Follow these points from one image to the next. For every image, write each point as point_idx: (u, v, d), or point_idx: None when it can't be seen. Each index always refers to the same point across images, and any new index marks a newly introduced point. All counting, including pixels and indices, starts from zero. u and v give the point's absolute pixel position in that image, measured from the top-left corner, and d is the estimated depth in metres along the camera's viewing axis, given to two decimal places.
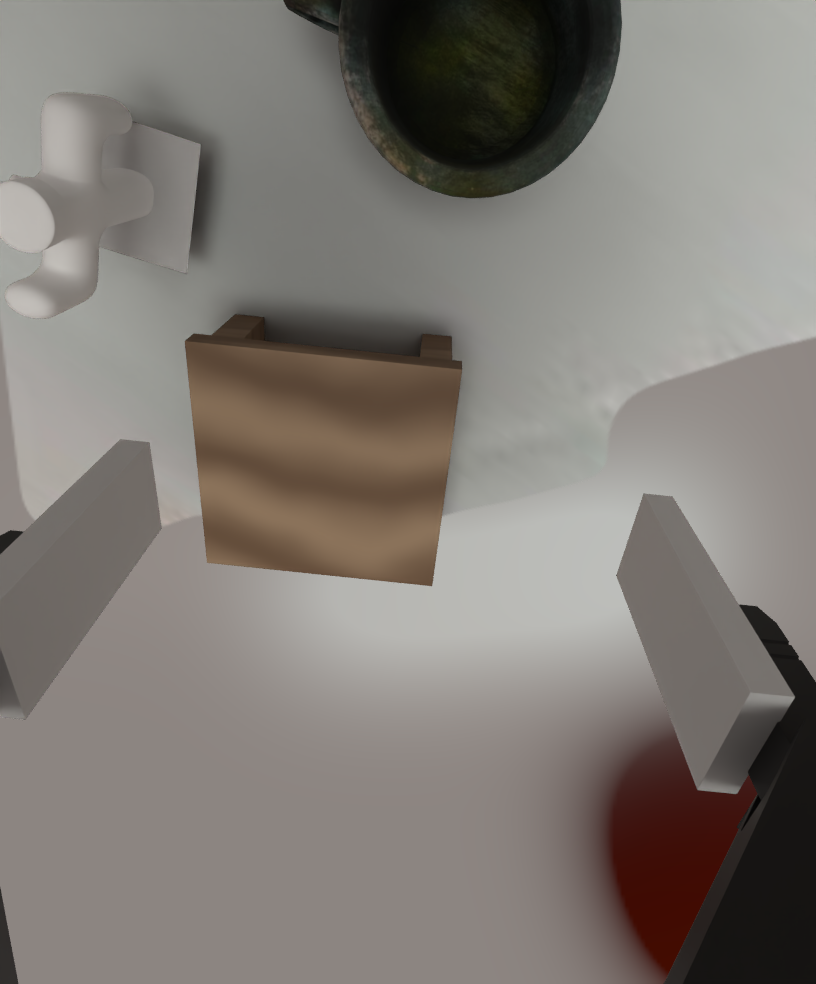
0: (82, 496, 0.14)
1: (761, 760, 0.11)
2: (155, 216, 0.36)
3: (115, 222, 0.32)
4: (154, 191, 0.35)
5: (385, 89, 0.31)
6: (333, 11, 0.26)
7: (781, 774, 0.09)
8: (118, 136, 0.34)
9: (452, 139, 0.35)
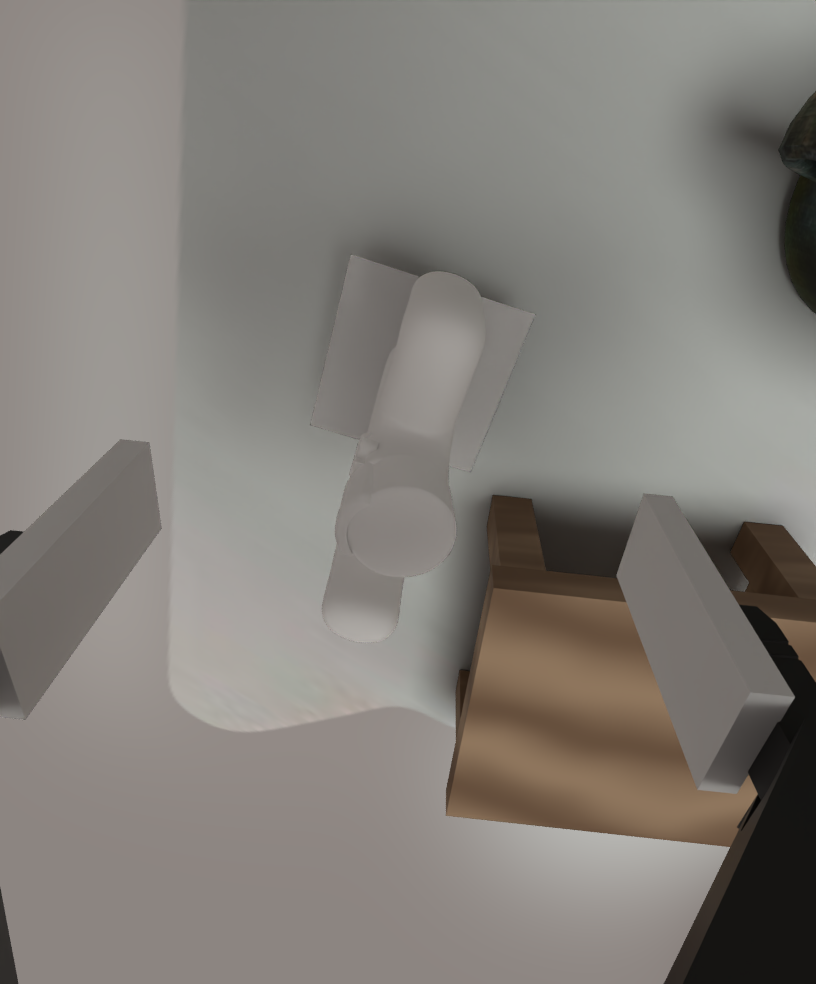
0: (82, 496, 0.14)
1: (761, 760, 0.11)
2: None
3: None
4: None
5: None
6: None
7: (781, 774, 0.09)
8: None
9: None
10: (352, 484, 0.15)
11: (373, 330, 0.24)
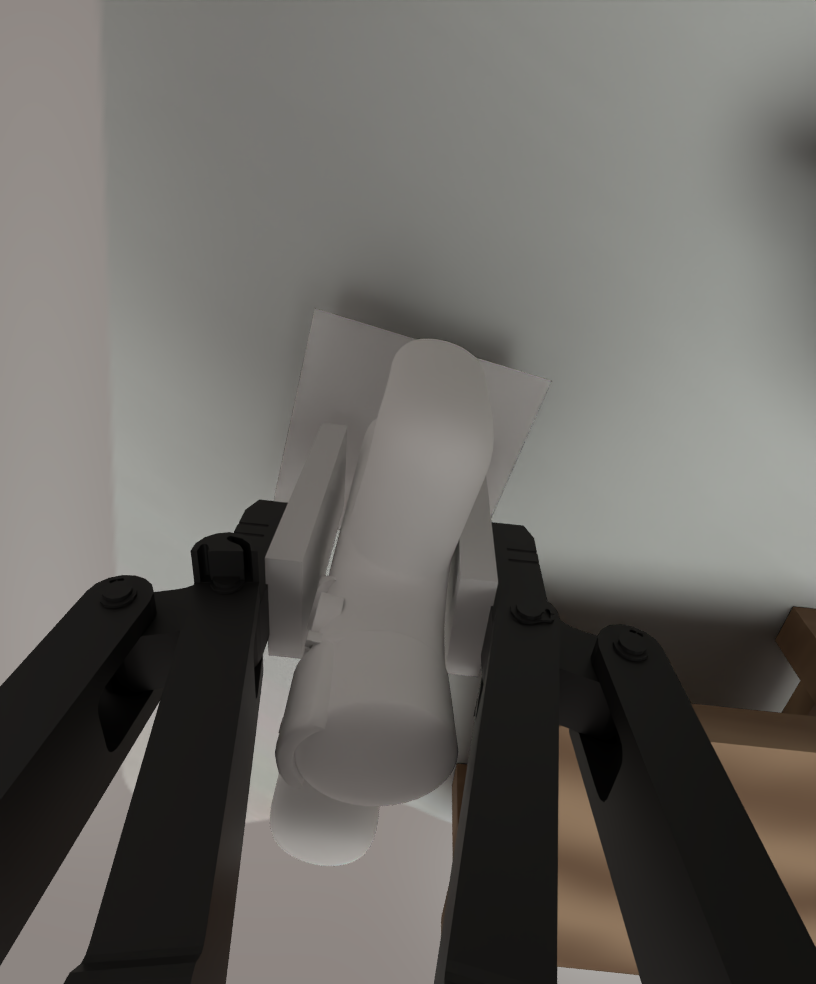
0: (319, 470, 0.15)
1: (484, 641, 0.13)
2: None
3: None
4: None
5: None
6: None
7: (490, 662, 0.10)
8: None
9: None
10: (302, 680, 0.10)
11: (346, 400, 0.19)
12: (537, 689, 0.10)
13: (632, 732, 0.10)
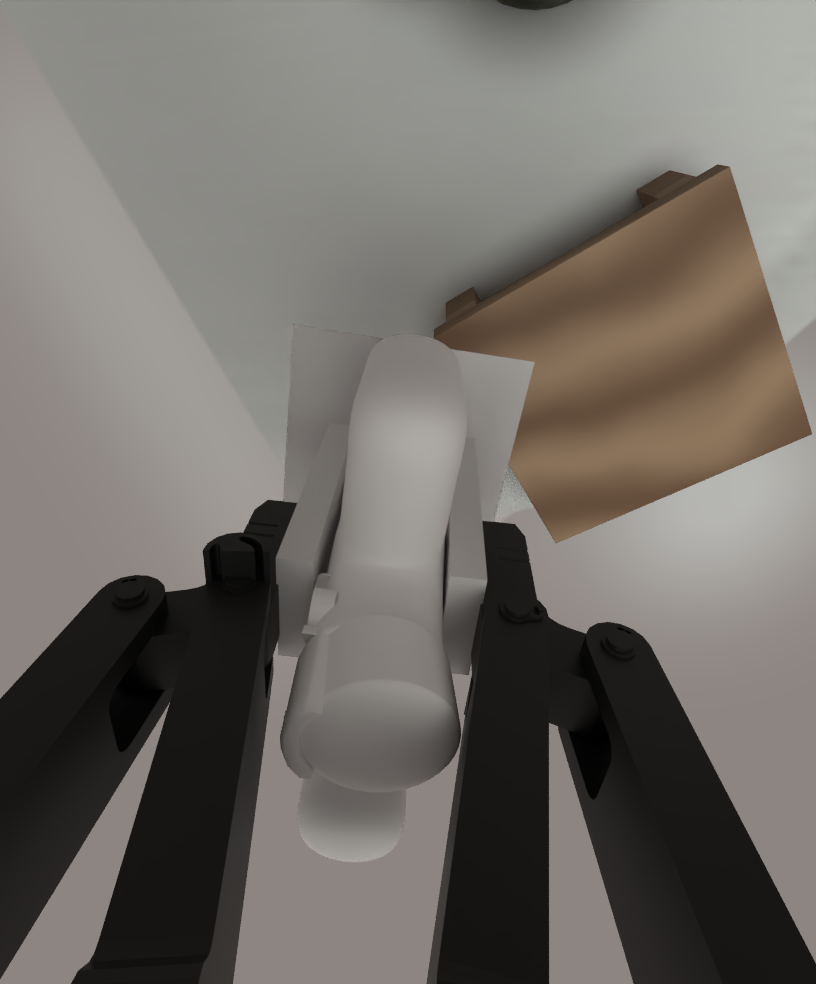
0: (327, 470, 0.15)
1: (474, 639, 0.13)
2: None
3: None
4: None
5: None
6: None
7: (479, 661, 0.11)
8: None
9: None
10: (299, 673, 0.11)
11: (336, 410, 0.19)
12: (527, 686, 0.10)
13: (620, 729, 0.10)
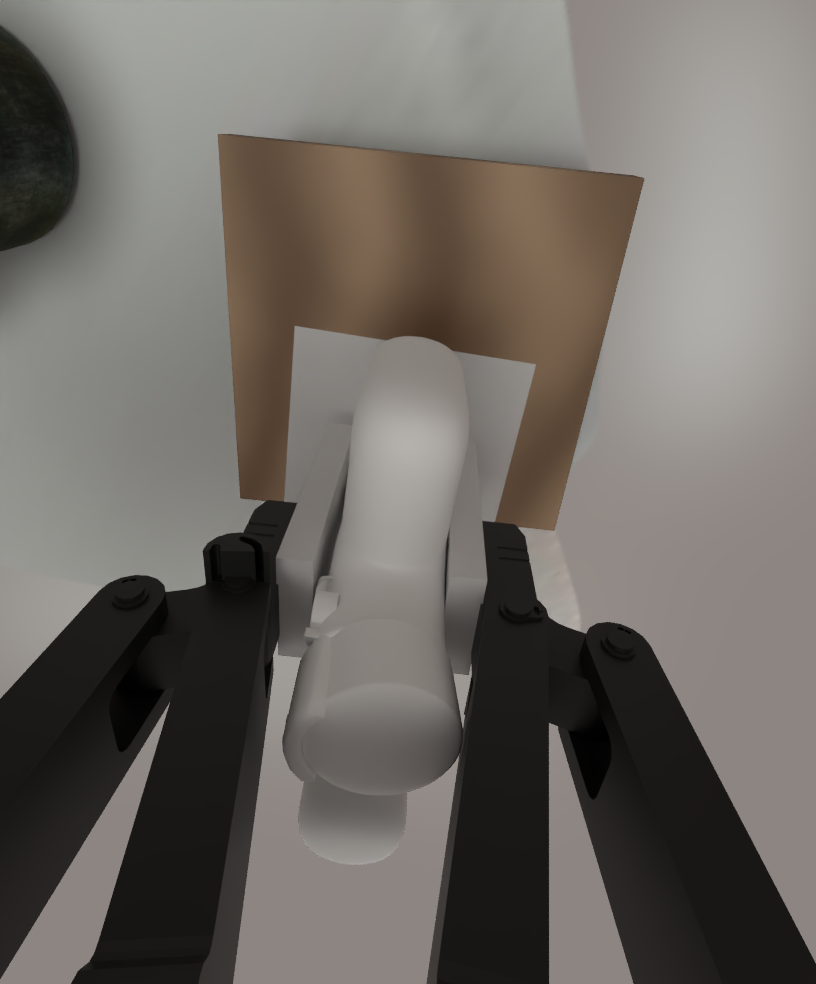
0: (328, 470, 0.15)
1: (474, 639, 0.13)
2: None
3: None
4: None
5: None
6: None
7: (479, 661, 0.11)
8: None
9: None
10: (302, 676, 0.11)
11: (338, 411, 0.19)
12: (527, 686, 0.10)
13: (621, 729, 0.10)
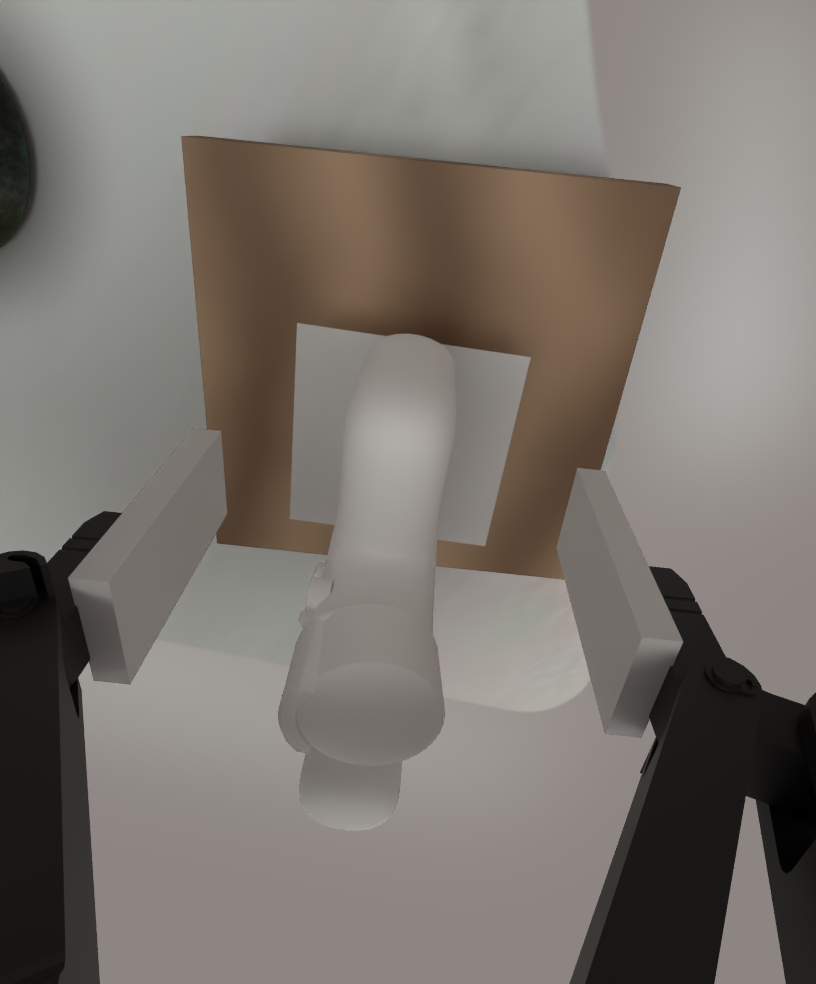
0: (170, 479, 0.14)
1: (659, 703, 0.12)
2: None
3: None
4: None
5: None
6: None
7: (672, 719, 0.10)
8: None
9: None
10: (296, 655, 0.11)
11: (340, 404, 0.20)
12: (723, 762, 0.09)
13: None
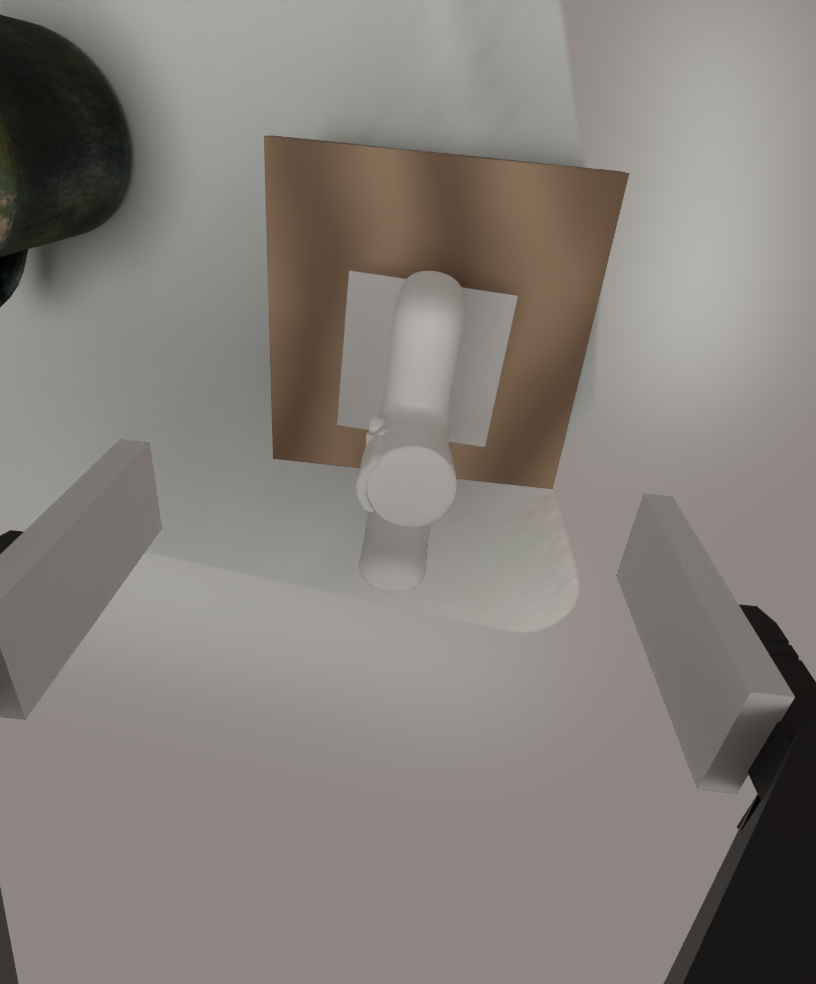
0: (82, 496, 0.14)
1: (761, 760, 0.11)
2: None
3: None
4: None
5: None
6: None
7: (781, 774, 0.09)
8: None
9: None
10: (365, 453, 0.19)
11: (378, 333, 0.27)
12: None
13: None
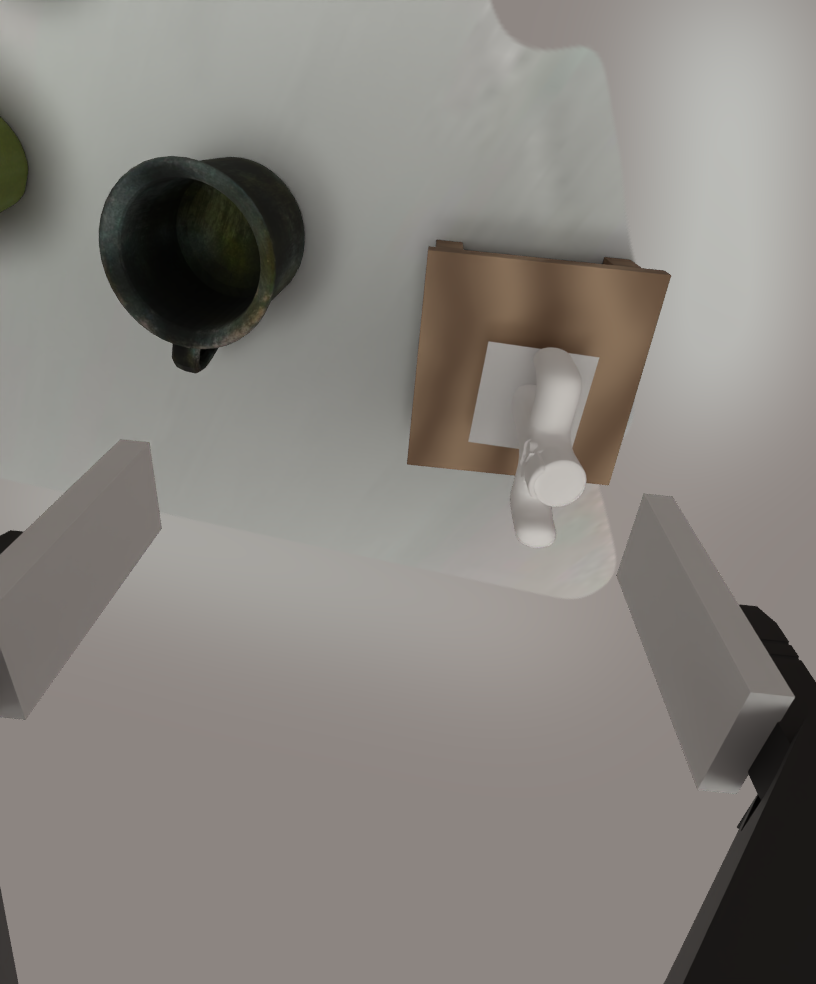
0: (82, 496, 0.14)
1: (761, 760, 0.11)
2: None
3: None
4: None
5: (244, 304, 0.46)
6: None
7: (781, 774, 0.09)
8: (527, 361, 0.40)
9: None
10: (532, 463, 0.32)
11: (503, 381, 0.41)
12: None
13: None
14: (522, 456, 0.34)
